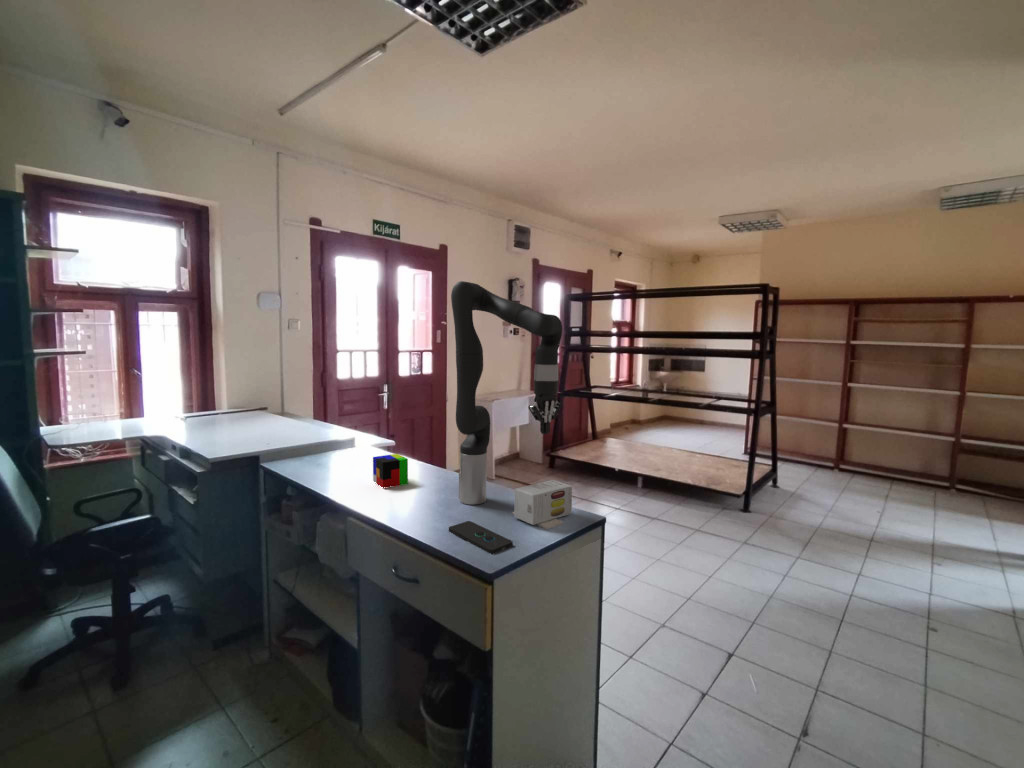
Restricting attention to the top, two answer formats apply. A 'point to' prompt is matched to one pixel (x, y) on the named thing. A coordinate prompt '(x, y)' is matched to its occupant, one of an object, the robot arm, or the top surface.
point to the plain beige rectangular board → (549, 523)
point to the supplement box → (543, 501)
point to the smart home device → (481, 537)
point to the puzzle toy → (390, 470)
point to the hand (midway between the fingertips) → (544, 433)
